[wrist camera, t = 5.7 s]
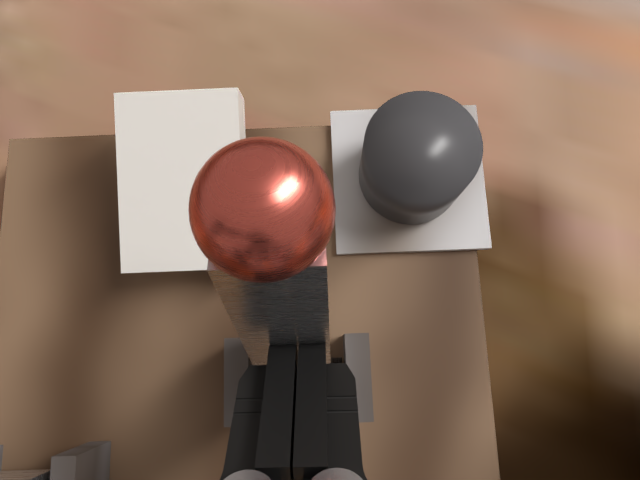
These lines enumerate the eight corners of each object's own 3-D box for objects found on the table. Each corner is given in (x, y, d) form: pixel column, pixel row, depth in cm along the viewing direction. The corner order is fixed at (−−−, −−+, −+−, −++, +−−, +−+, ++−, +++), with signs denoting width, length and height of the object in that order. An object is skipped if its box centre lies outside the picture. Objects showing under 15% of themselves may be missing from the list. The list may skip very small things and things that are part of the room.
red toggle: (260, 418, 18) (145, 238, 7) (262, 348, 19) (168, 107, 9) (344, 415, 18) (353, 230, 7) (340, 345, 19) (343, 99, 9)
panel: (1, 569, 20) (-98, 636, 15) (37, 146, 23) (-33, 98, 19) (505, 553, 19) (558, 615, 15) (461, 128, 23) (493, 75, 18)
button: (361, 226, 19) (366, 205, 17) (356, 130, 20) (360, 93, 17) (465, 222, 19) (489, 200, 16) (455, 125, 20) (476, 88, 17)
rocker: (136, 270, 19) (120, 273, 18) (129, 103, 19) (113, 93, 18) (250, 266, 19) (244, 268, 18) (243, 98, 19) (237, 87, 18)
